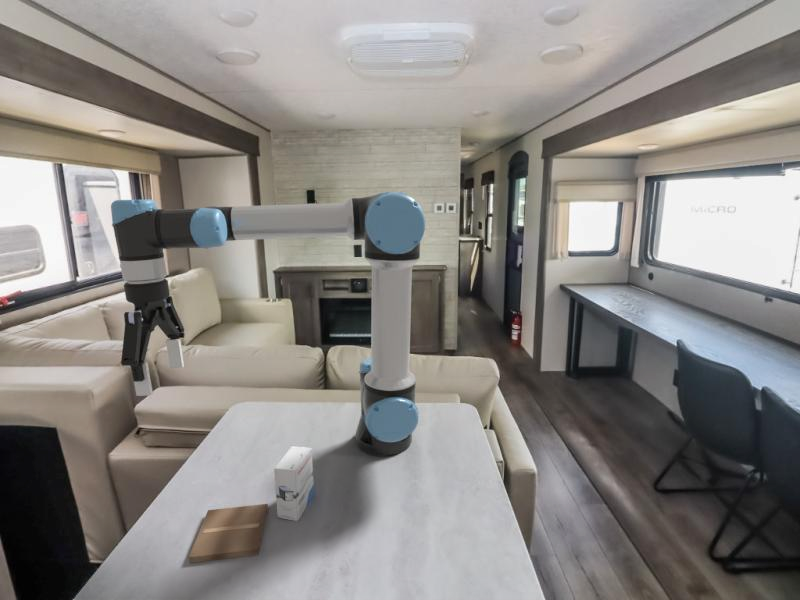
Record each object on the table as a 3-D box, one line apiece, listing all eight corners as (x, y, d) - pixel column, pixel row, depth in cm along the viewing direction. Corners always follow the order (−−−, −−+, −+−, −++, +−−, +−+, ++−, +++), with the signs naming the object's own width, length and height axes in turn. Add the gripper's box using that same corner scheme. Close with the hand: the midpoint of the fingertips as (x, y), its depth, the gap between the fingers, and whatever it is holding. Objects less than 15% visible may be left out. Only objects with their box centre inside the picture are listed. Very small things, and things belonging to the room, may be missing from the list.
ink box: (295, 490, 96) (291, 444, 93) (316, 493, 95) (313, 446, 92) (276, 518, 87) (272, 468, 85) (299, 521, 86) (295, 471, 84)
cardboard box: (268, 508, 90) (267, 503, 90) (258, 554, 79) (257, 548, 78) (208, 515, 88) (208, 509, 88) (189, 562, 77) (188, 557, 77)
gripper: (158, 269, 96) (171, 358, 101) (83, 294, 71) (106, 409, 76) (192, 268, 96) (204, 357, 101) (129, 293, 72) (149, 408, 77)
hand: (162, 380), depth 89 cm, fingers open, 13 cm apart
